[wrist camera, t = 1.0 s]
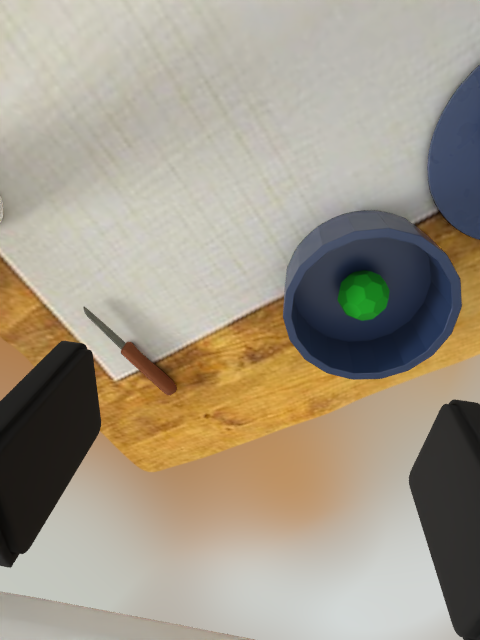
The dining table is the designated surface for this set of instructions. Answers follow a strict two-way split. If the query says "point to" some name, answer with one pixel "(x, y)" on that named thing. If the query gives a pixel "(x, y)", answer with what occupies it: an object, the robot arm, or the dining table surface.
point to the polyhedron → (363, 295)
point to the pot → (403, 304)
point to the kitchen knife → (137, 358)
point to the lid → (458, 158)
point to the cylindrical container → (1, 209)
